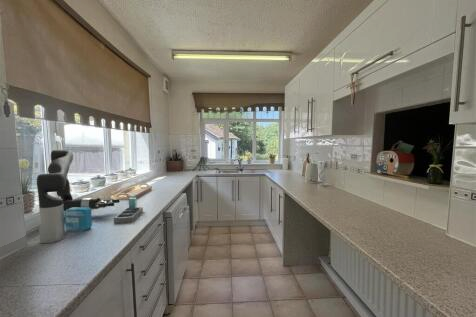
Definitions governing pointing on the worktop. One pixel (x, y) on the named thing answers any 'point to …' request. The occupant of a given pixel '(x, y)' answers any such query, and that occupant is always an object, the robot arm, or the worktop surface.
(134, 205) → the brushed teal metal block
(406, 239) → the worktop surface
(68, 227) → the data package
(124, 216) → the slot rack
